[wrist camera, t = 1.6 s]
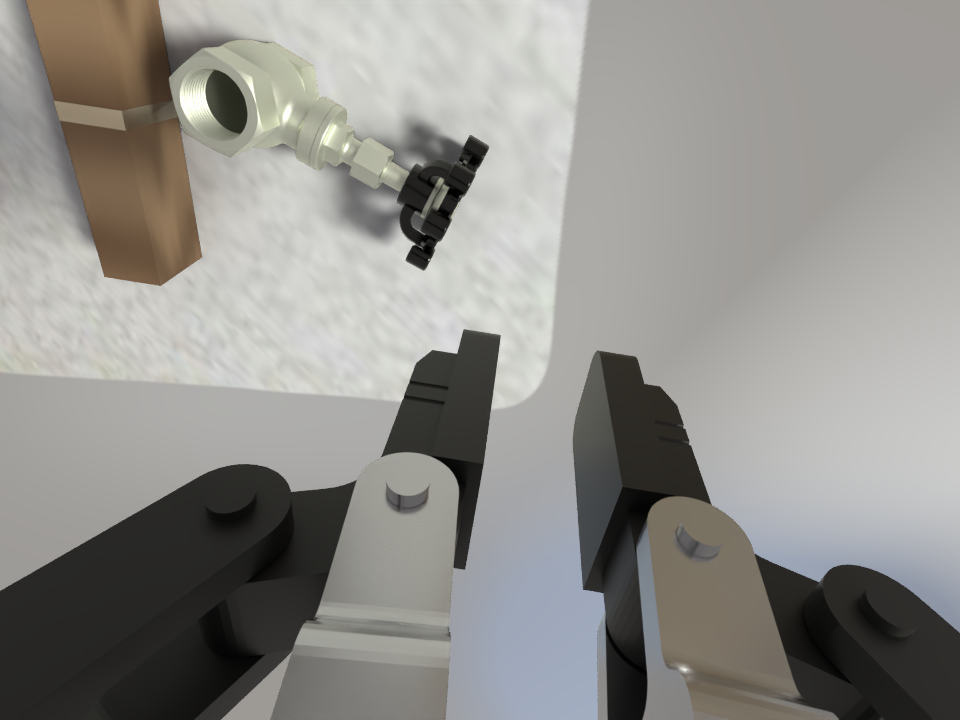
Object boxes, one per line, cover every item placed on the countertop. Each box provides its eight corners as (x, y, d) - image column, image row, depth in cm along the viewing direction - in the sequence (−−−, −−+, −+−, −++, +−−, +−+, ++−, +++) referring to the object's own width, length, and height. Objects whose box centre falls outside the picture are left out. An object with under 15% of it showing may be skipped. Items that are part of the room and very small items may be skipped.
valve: (228, 128, 27) (436, 244, 29) (147, 155, 22) (411, 296, 24) (263, -10, 24) (495, 133, 26) (178, -20, 18) (482, 163, 20)
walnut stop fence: (72, -109, 22) (-13, -132, 19) (141, -99, 22) (69, -121, 19) (152, 249, 31) (103, 277, 28) (202, 256, 31) (160, 286, 28)
